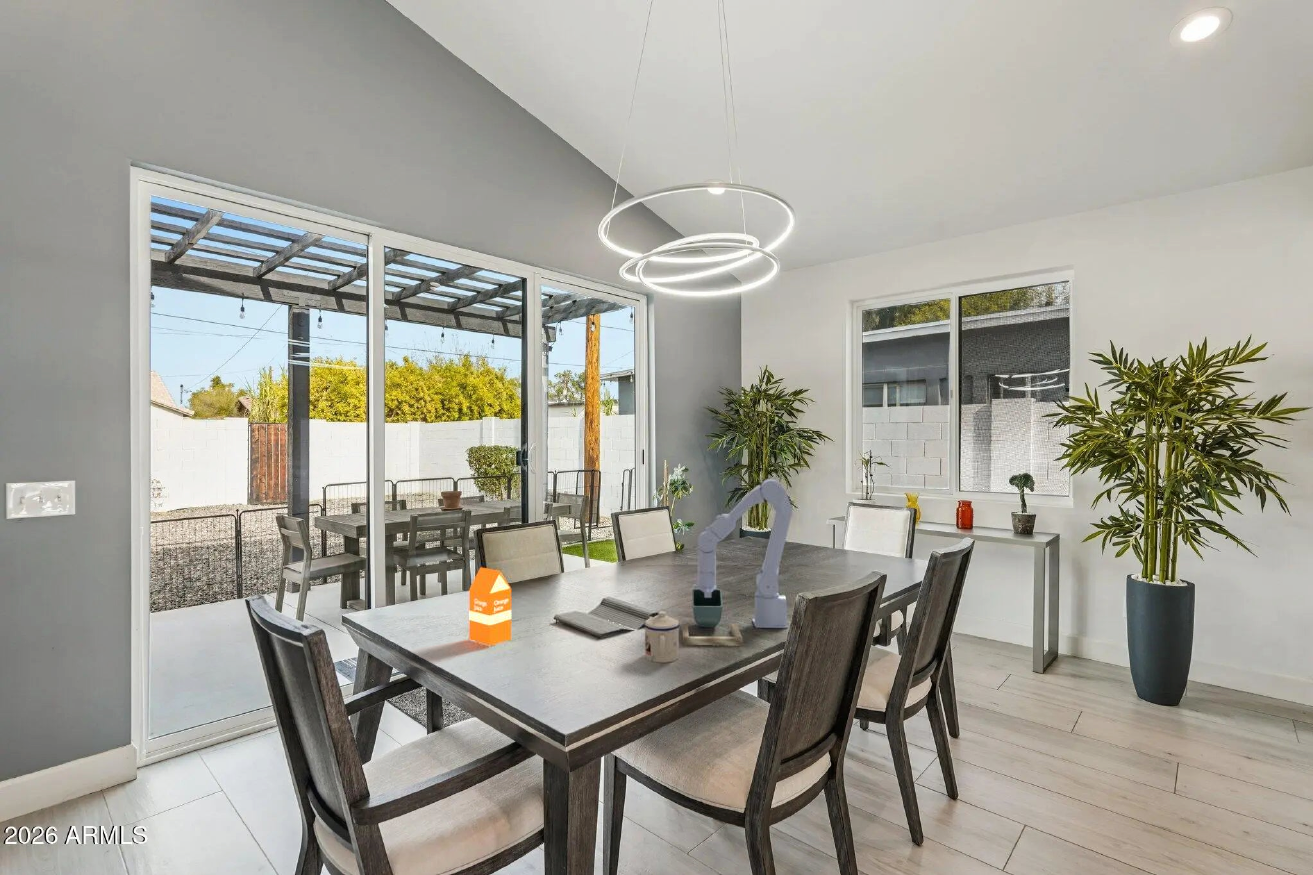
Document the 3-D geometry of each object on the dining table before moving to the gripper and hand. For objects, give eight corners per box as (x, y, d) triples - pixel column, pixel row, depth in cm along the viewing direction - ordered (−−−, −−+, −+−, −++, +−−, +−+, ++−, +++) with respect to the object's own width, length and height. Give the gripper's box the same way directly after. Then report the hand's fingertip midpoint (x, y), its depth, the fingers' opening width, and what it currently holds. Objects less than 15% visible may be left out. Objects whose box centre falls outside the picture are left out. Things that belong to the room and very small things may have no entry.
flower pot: (721, 612, 191) (721, 588, 188) (722, 631, 183) (722, 606, 180) (692, 613, 192) (692, 588, 188) (693, 631, 183) (692, 606, 180)
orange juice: (491, 634, 179) (491, 565, 179) (511, 639, 174) (511, 568, 174) (468, 641, 172) (468, 569, 173) (489, 647, 167) (489, 573, 167)
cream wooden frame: (736, 630, 183) (736, 623, 183) (742, 645, 169) (742, 638, 169) (682, 630, 183) (682, 623, 183) (683, 645, 169) (683, 638, 169)
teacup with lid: (644, 651, 165) (644, 607, 165) (678, 651, 165) (678, 607, 165) (643, 667, 153) (643, 620, 153) (680, 667, 153) (680, 620, 153)
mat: (552, 624, 190) (552, 609, 190) (611, 610, 206) (611, 595, 206) (599, 642, 173) (600, 625, 173) (660, 625, 190) (660, 609, 190)
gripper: (692, 565, 198) (691, 608, 198) (694, 576, 183) (693, 621, 183) (714, 566, 198) (714, 608, 198) (718, 576, 183) (717, 622, 183)
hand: (705, 615), depth 190 cm, fingers closed, pressing on flower pot
